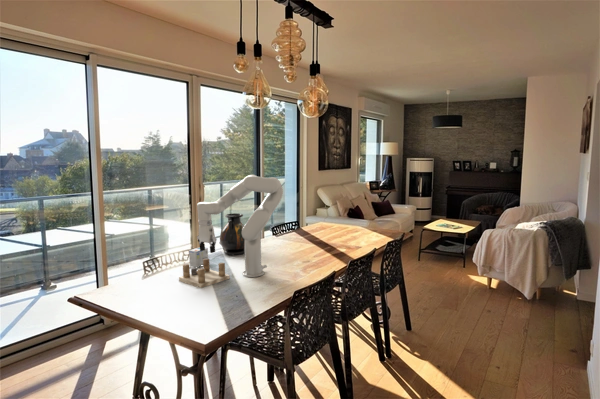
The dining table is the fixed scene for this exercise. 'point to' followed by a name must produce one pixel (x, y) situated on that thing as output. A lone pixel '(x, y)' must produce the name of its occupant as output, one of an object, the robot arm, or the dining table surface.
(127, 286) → the dining table surface
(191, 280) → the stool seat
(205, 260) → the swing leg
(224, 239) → the amphora vase
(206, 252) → the light bulb box
